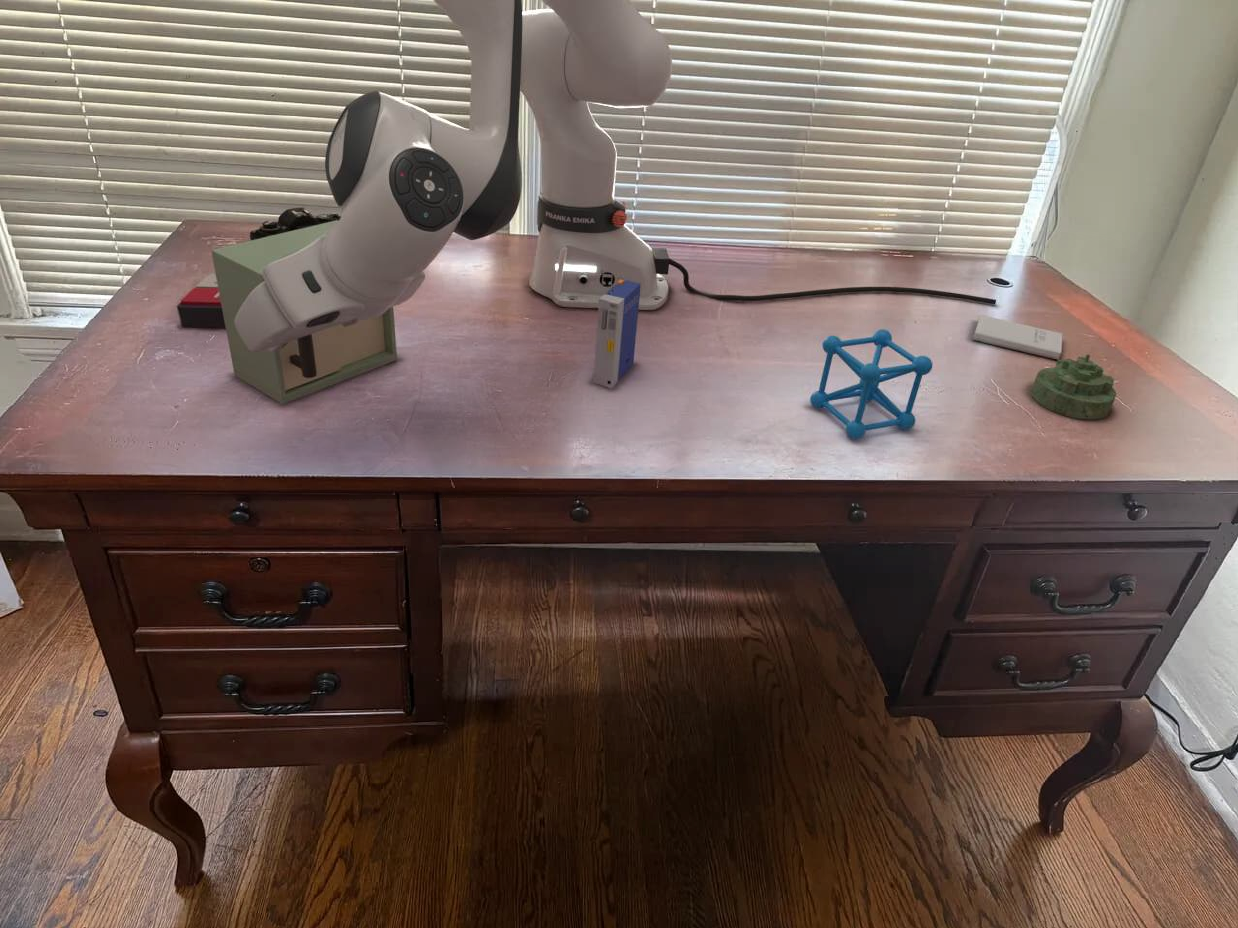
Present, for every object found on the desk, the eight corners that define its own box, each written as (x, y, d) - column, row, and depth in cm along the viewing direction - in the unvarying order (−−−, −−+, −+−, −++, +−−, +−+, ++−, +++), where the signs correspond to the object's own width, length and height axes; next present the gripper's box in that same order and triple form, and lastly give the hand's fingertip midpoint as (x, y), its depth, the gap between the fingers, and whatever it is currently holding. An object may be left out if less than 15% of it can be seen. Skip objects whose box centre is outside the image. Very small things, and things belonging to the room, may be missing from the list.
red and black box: (206, 271, 123) (311, 273, 124) (213, 299, 126) (316, 301, 126) (173, 301, 114) (288, 303, 114) (181, 331, 116) (294, 333, 117)
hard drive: (977, 323, 139) (1059, 341, 135) (972, 341, 133) (1058, 361, 129) (980, 313, 138) (1063, 331, 134) (975, 331, 132) (1062, 351, 128)
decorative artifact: (1089, 387, 122) (1020, 381, 122) (1109, 342, 119) (1037, 335, 118) (1121, 422, 114) (1046, 416, 114) (1143, 375, 110) (1066, 368, 110)
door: (360, 380, 105) (350, 275, 98) (304, 402, 100) (289, 293, 92) (338, 368, 107) (326, 264, 100) (282, 389, 102) (265, 281, 95)
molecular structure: (851, 444, 104) (870, 369, 98) (805, 404, 111) (820, 333, 106) (916, 431, 108) (939, 359, 102) (867, 394, 115) (886, 325, 110)
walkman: (614, 360, 118) (621, 276, 111) (633, 364, 117) (641, 280, 111) (591, 383, 112) (597, 296, 105) (611, 388, 111) (618, 301, 104)
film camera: (325, 245, 145) (318, 186, 140) (375, 265, 140) (370, 204, 134) (230, 272, 133) (218, 208, 127) (280, 295, 127) (270, 228, 122)
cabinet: (397, 360, 113) (388, 241, 104) (282, 404, 101) (262, 275, 93) (349, 335, 118) (337, 220, 109) (234, 375, 106) (210, 249, 98)
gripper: (423, 223, 92) (372, 283, 103) (249, 268, 79) (209, 333, 89) (453, 275, 93) (399, 329, 103) (285, 329, 79) (241, 386, 89)
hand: (310, 331), depth 96 cm, fingers open, 8 cm apart
